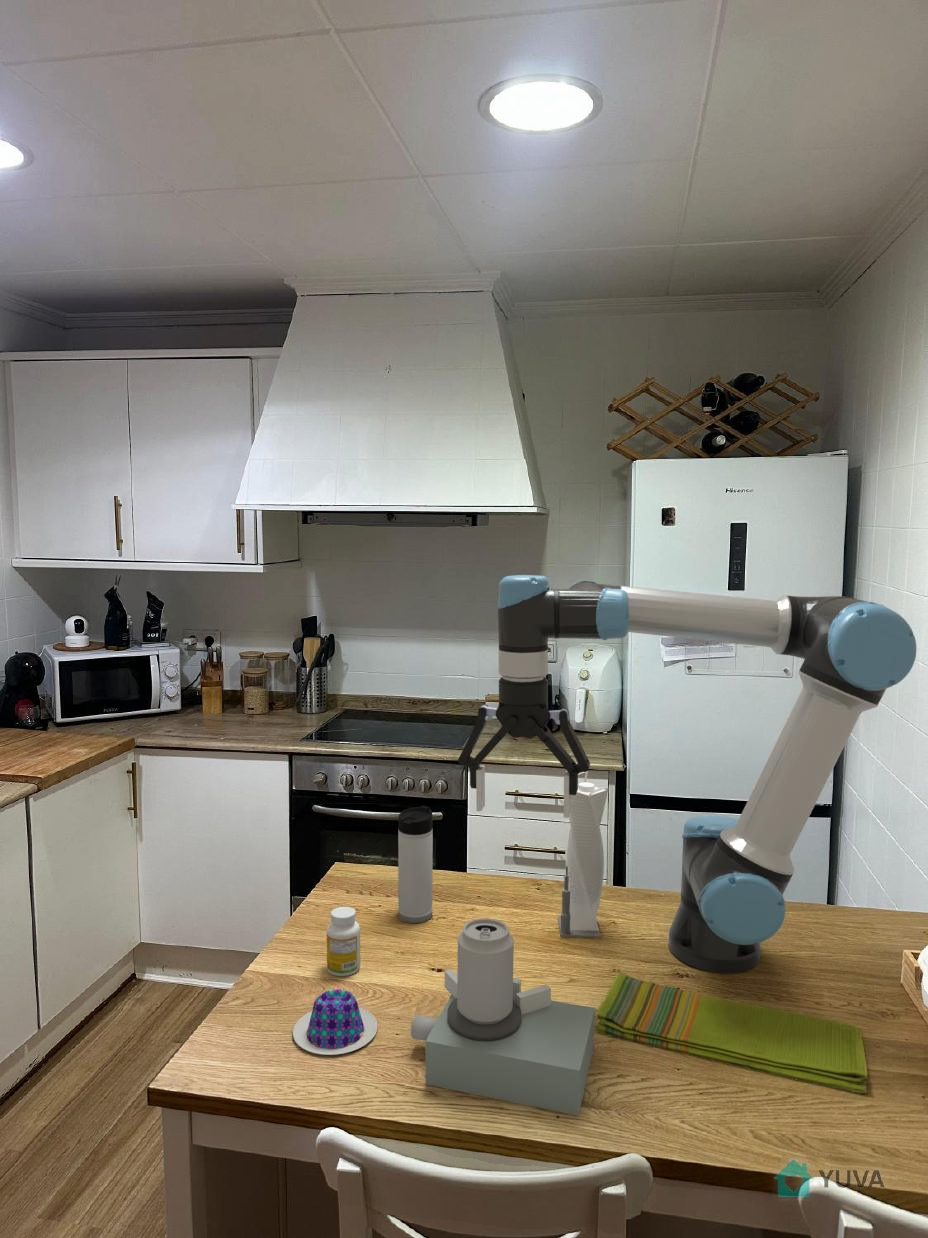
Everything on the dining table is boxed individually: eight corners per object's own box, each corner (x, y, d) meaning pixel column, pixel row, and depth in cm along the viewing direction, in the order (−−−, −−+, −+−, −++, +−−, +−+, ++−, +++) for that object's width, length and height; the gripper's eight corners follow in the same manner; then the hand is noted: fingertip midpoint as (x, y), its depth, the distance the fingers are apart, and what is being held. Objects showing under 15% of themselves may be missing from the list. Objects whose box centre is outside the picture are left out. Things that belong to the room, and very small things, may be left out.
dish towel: (615, 982, 136) (616, 963, 135) (860, 1034, 122) (862, 1013, 122) (593, 1036, 121) (594, 1015, 121) (868, 1102, 108) (869, 1078, 108)
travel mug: (439, 912, 158) (440, 809, 155) (419, 927, 152) (419, 819, 150) (412, 904, 161) (412, 803, 159) (391, 918, 155) (391, 813, 153)
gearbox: (593, 1048, 118) (595, 991, 117) (578, 1116, 104) (580, 1051, 103) (430, 1018, 124) (430, 964, 123) (396, 1078, 111) (396, 1017, 110)
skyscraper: (557, 914, 157) (560, 768, 154) (601, 916, 157) (605, 769, 154) (560, 937, 149) (564, 783, 146) (606, 938, 149) (611, 784, 145)
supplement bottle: (336, 957, 141) (336, 902, 140) (365, 963, 140) (365, 907, 138) (321, 973, 136) (320, 916, 135) (351, 980, 135) (350, 922, 133)
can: (513, 998, 117) (515, 916, 116) (511, 1030, 110) (512, 943, 109) (460, 994, 118) (460, 913, 117) (454, 1026, 111) (454, 939, 109)
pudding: (380, 1009, 127) (380, 976, 127) (373, 1060, 115) (373, 1024, 115) (301, 1009, 127) (300, 976, 126) (285, 1060, 115) (284, 1024, 114)
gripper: (607, 675, 129) (606, 809, 132) (450, 669, 135) (451, 798, 138) (604, 684, 122) (602, 826, 125) (437, 678, 128) (439, 813, 131)
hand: (523, 811), depth 131 cm, fingers open, 13 cm apart
